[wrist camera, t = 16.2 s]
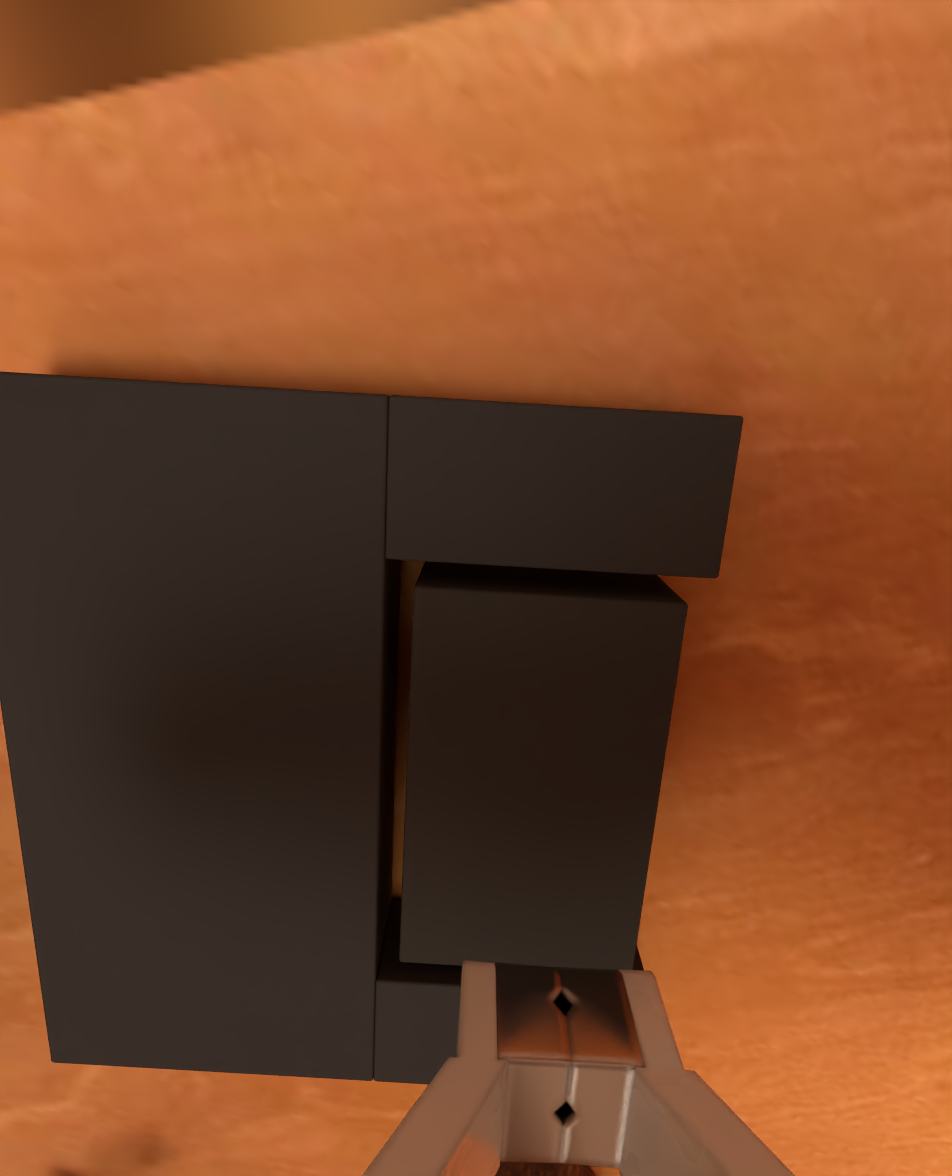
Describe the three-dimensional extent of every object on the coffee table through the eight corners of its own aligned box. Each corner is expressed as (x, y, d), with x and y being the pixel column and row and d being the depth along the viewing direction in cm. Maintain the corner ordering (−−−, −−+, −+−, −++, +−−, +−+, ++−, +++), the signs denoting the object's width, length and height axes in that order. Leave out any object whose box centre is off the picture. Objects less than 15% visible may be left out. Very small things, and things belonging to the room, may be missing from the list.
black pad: (425, 557, 17) (413, 586, 14) (654, 571, 17) (689, 604, 14) (411, 881, 20) (398, 963, 17) (610, 894, 20) (632, 977, 17)
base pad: (47, 376, 16) (-49, 368, 13) (698, 415, 16) (745, 416, 13) (111, 972, 21) (50, 1063, 18) (615, 1001, 21) (636, 1097, 18)
